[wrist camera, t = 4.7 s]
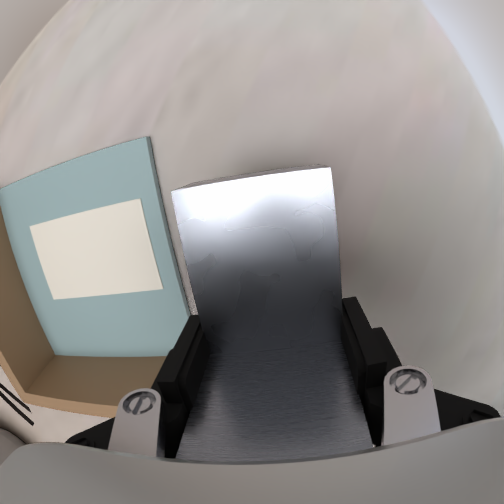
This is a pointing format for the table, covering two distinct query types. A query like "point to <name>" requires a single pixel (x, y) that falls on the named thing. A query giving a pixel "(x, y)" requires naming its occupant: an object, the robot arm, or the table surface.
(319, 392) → the bracket
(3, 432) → the vase
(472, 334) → the table surface
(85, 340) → the arena
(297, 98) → the table surface
